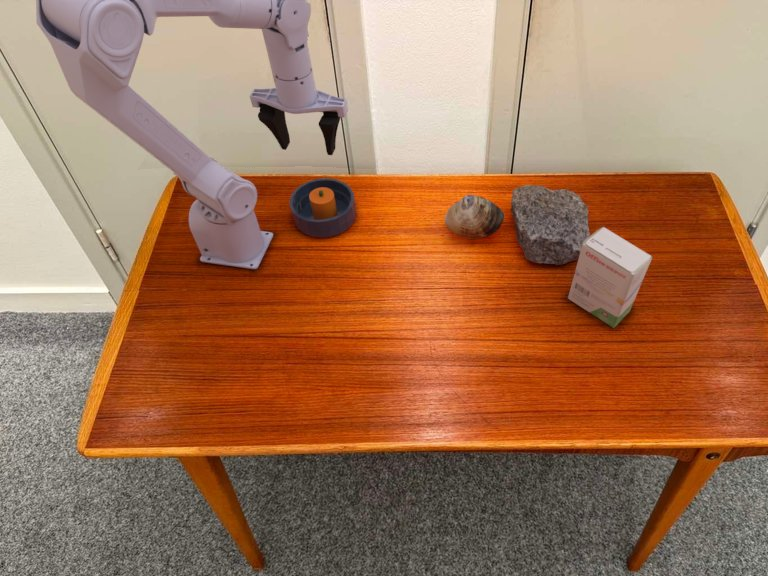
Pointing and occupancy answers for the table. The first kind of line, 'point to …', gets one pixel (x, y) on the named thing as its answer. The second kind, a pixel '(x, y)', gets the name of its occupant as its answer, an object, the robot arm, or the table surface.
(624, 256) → the ink box
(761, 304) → the table surface
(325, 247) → the table surface
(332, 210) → the squash
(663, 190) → the table surface
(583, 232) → the rock
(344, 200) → the bowl
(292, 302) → the table surface
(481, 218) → the seashell
